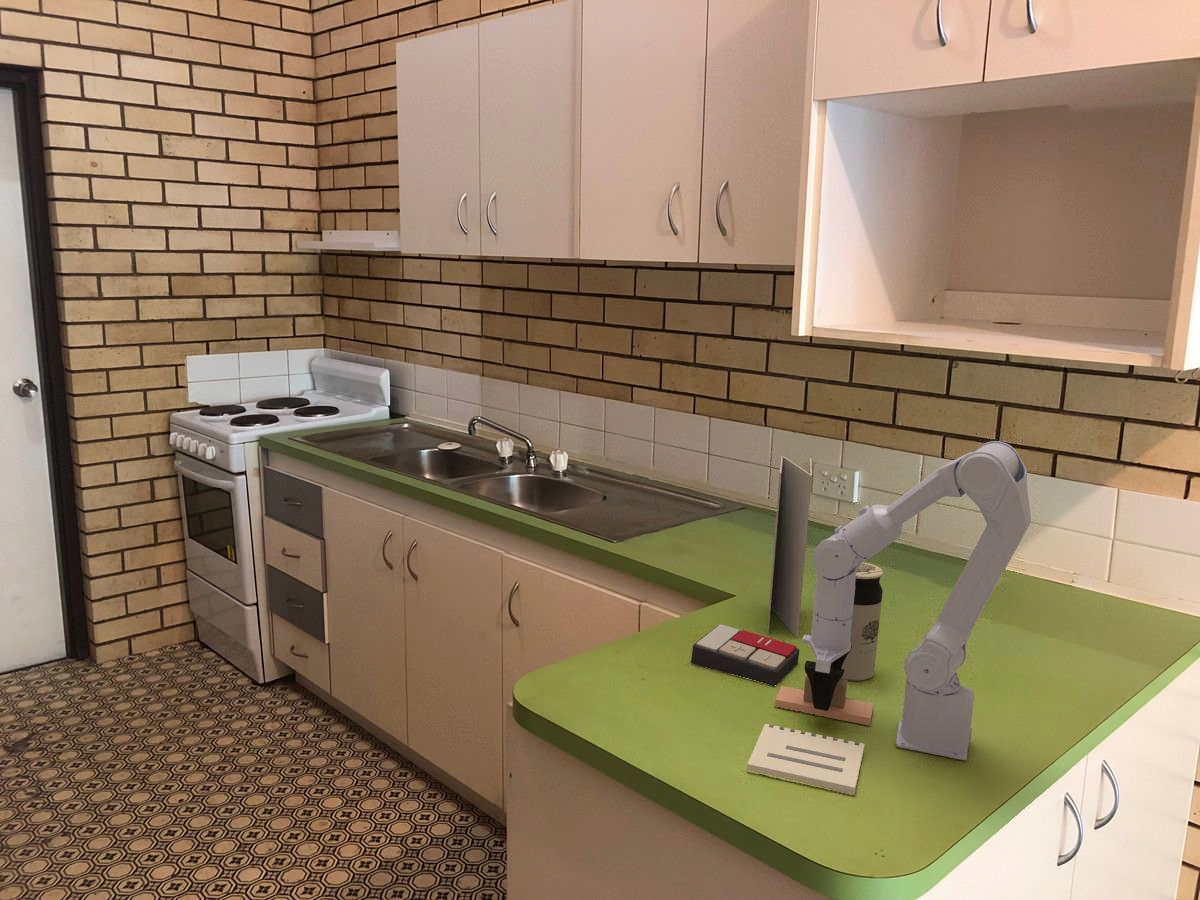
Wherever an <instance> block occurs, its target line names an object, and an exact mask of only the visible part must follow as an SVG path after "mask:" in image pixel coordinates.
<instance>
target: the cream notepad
mask: <svg viewBox="0 0 1200 900" xmlns="http://www.w3.org/2000/svg"><path fill="white" fill-rule="evenodd" d="M865 744H866V743H862V742H856V741H851V740H847V739H842V738H837V737H832V736H827V735H822V734H817V733H814V732H813V733H812V732H807V731H804V730H798V729H794V728H790V727H784V726H777V725H773V724H769V723H765V724H764V726H763V728H762V730H761V733H760V734H759V737H758V739H757V742H756V744H755V746H754V748H753V751H752V753H751V755H750V758H749V759H748V762H747V765H746V771H747V770H751V771H754V772H758V773H763V774H769V775H772V776H776V777H781V778H785V779H789V780H795V781H798V782H803V783H806V784H810V785H815V786H819V787H822V788H827V789H830V790H835V791H839V792H842V793H841V794H843V793H846V794H845V795H847V794H849V795H848V796H852V795H854V796H855V795H856V790H857V786H858V781H859V777H858V776H860V772H859V771H861V766H862V763H861V762H862V761H863V758H864V754H863V753H865V746H866V745H865ZM862 757H863V758H862ZM857 780H858V781H857ZM856 785H857V786H856ZM830 790H829V791H830ZM839 792H838V793H839Z"/></svg>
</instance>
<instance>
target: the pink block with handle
mask: <svg viewBox="0 0 1200 900" xmlns="http://www.w3.org/2000/svg"><path fill="white" fill-rule="evenodd" d="M804 680H805V681H804V690H803V689H799V688H793V687H788V686H782V685H781V686H780V689H779V690H778V693H777V695H776V698H775V702H774V708H778V707H781V708H780V709H783V708H784V709H783V710H788V709H790V710H789V711H793V710H795V712H798V711H801V712H800V713H803V712H804V713H805V714H808V713H809V715H813V714H815V715H814V716H819V717H823V716H824V717H825V718H829V719H833V720H839V721H843V722H844V721H845V722H848V723H849V722H850V723H855V724H859V725H865V726H870V725H871V720H872V717H873V711H874V703H872V702H867V701H863V700H862V701H861V700H858V699H857V700H856V699H851V698H847V691H848V681H849V680H846V679H842V678H841V679H840V680H839V682H838V683H837V685H836V687H835V690H834V694H833V697H832V701H831V704H830V707H829V710H828V711H825V710H819V709H815V708H814V705H813V699H812V691H811V685H810V681H809V679H808V676H807V675H806V676H805V679H804ZM804 713H803V714H804Z"/></svg>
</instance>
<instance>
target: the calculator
mask: <svg viewBox="0 0 1200 900" xmlns="http://www.w3.org/2000/svg"><path fill="white" fill-rule="evenodd" d="M691 650H692V651H691V659H690V663H692V665H694V664H695V665H694V666H697V665H698V666H697V667H701V666H702V667H701V668H705V667H707V668H706V669H708V668H710V669H709V670H712V669H716V671H719V672H722V671H723V672H722V673H725V672H726V674H728V673H729V675H731V674H734V675H738V676H741V677H745V678H749V679H752V680H756V681H759V682H763V683H766V684H769V685H768V686H770V685H772V686H771V687H776V686H775V685H777V684H778V683H779V684H780V683H781V682H782V680H784V679H785V678H786V676H788V674H789V673H790V672H791V671H793V669H794V668H795V667H796V666H797V665H798V664H799V658H800V649H799V648H798V647H797V646H796V645H795V644H791V643H787V642H784V641H781V640H778V639H774V638H771V637H767V636H765V635H761V634H758V633H755V632H751V631H747V630H744V629H742V630H740V629H739V628H735V627H732V626H729V625H725V624H719V625H717V626H715V627H714V628H713V629H712V630H710V631H709V632H708V633H706V634H705V635H704V636H703V637H701V638H700V639H699V640H697V641H696V642H695V643H693V645H692V649H691ZM734 675H733V676H734ZM738 676H737V677H738ZM741 677H740V678H741ZM745 678H744V679H745ZM752 680H751V681H752ZM756 681H755V682H756ZM759 682H758V683H759ZM763 683H762V684H763ZM766 684H765V685H766ZM779 684H778V685H779ZM778 685H777V686H778Z"/></svg>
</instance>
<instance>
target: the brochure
mask: <svg viewBox="0 0 1200 900" xmlns="http://www.w3.org/2000/svg"><path fill="white" fill-rule="evenodd" d="M808 463H809V465H808V471H807V470H805V469H803V468H802V467H800V466H799V465H798V464H796V463H795V462H793V461H791V460H790V459H789V458H787V457H785V456H784V455H781V457H780V466H779V477H778V490H777V502H776V513H775V514H776V515H775V517H776V518H775V525H774V526H775V527H774V540H773V554H772V563H771V564H772V568H771V576H770V579H771V580H770V590H769V592H770V593H769V604H768V615H767V629H766V635H769V631H770V623H771V622H770V621H771V613H772V612H771V610H772V609H773V610H774V611H773V610H772V611H773V613H774V614H776V616H777V615H778V616H777V617H778V619H780V620H781V622H782V623H783V624H784V625H785V626H786V627H787V628H788V630H789V631H790V632H791V633H792V635H794V637H795V638H799V628H800V620H801V619H800V618H801V607H802V595H803V585H804V583H803V582H804V572H805V571H804V570H805V561H806V560H805V559H806V550H807V539H808V538H807V537H808V536H807V535H808V528H809V527H808V525H809V514H810V503H811V490H812V481H813V470H812V469H813V465H812V457H810V458H809V462H808Z"/></svg>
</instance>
